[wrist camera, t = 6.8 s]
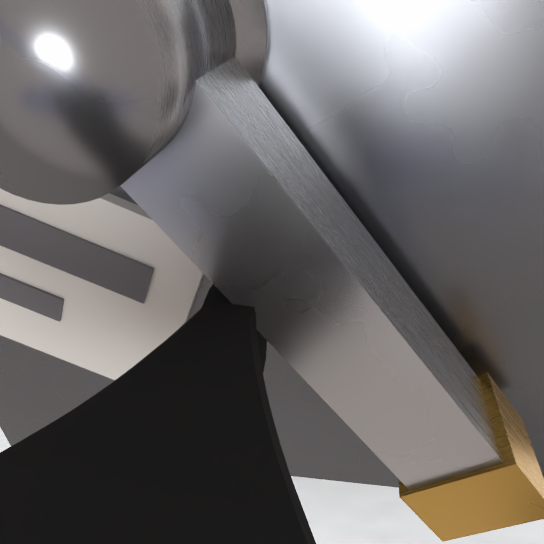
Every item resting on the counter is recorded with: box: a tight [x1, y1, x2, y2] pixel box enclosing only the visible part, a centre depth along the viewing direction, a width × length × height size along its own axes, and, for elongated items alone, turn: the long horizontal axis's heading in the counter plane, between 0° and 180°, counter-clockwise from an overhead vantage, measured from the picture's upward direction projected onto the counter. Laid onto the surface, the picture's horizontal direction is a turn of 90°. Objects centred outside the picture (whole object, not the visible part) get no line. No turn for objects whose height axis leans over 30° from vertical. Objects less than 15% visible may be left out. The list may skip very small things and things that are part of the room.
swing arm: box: [0, 0, 544, 541], centre depth 7 cm, size 12×3×3 cm, turn 39°
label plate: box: [0, 189, 204, 380], centre depth 11 cm, size 7×5×1 cm
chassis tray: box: [0, 0, 544, 487], centre depth 10 cm, size 16×13×1 cm
